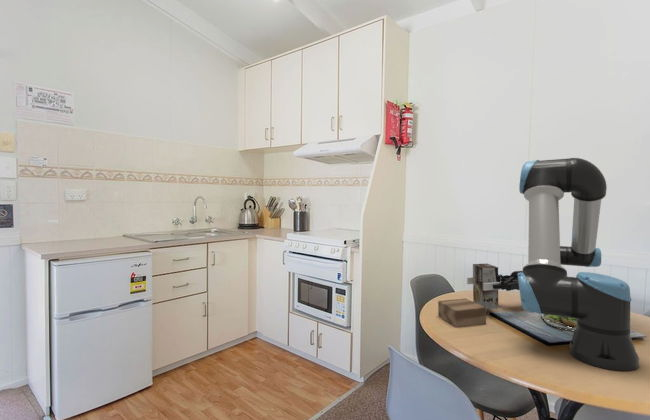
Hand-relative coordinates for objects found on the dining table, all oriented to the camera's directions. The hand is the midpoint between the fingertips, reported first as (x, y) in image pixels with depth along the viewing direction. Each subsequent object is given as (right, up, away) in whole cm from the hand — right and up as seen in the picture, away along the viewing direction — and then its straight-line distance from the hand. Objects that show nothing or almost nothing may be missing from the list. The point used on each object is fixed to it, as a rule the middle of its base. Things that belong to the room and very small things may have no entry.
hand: (475, 283), depth 136 cm
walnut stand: (-8, -12, -7) cm, 16 cm away
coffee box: (+4, -9, +1) cm, 10 cm away
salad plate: (+29, -12, -12) cm, 33 cm away
